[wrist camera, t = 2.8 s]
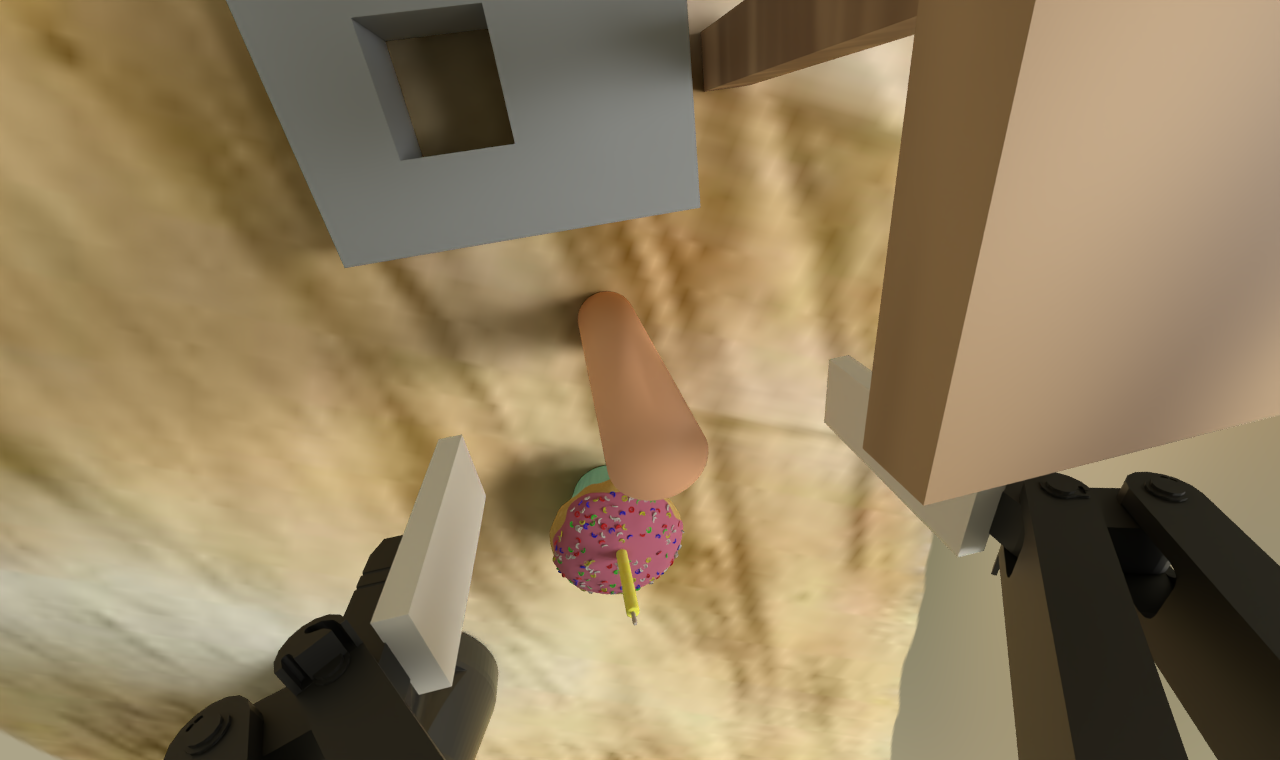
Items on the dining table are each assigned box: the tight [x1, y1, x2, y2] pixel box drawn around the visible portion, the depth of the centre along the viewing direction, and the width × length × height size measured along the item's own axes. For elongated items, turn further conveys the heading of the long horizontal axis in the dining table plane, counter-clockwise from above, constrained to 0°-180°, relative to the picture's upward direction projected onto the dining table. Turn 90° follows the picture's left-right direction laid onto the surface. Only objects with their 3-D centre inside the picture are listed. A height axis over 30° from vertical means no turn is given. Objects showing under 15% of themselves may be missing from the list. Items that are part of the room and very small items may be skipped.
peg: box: [578, 291, 708, 501], centre depth 21 cm, size 3×3×14 cm
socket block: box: [226, 0, 700, 268], centre depth 19 cm, size 16×12×4 cm
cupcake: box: [550, 466, 684, 625], centre depth 28 cm, size 9×8×12 cm
